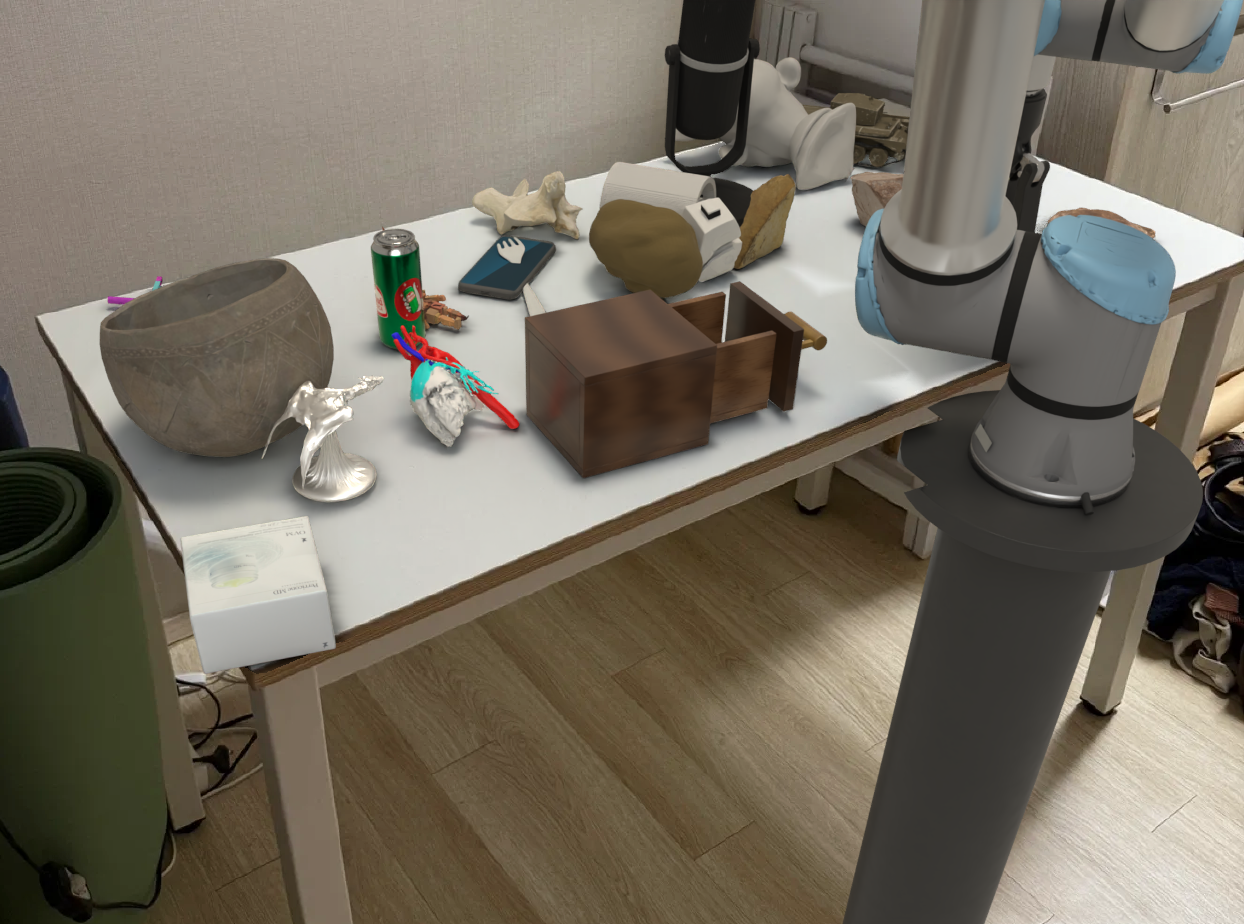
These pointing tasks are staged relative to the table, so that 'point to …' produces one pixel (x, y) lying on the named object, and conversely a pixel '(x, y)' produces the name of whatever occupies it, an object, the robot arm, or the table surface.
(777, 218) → the rock
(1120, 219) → the brown rocky slab
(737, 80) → the microphone
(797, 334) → the drawer
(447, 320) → the armored character
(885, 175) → the stone
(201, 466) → the table surface
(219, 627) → the cosmetics box
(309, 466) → the figurine
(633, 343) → the cabinet
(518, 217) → the decorative object
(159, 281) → the squeegee
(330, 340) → the bowl
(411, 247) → the soda can
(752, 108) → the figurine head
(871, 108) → the toy tank
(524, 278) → the smartphone
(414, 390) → the anatomical heart model
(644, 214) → the decorative stone
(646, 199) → the cup
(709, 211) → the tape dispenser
